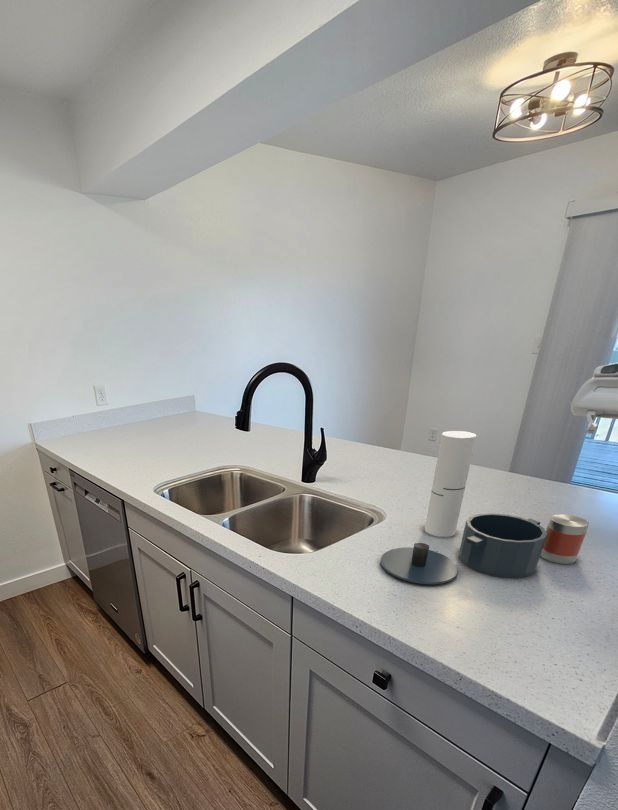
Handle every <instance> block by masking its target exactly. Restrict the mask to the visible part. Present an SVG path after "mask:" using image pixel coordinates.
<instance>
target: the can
mask: <svg viewBox="0 0 618 810" xmlns="http://www.w3.org/2000/svg"><path fill="white" fill-rule="evenodd" d="M589 526H590V522H589V521H588V520H586V519H584V518H583V517H579V516H576V515H572V514H563V513H562V514H561V513H560V514H553V515H551V516H550V518H549V521H548V524H547V526H546V529H545V531H546V532H547V537H546V540H545V543H544V546H543V549H542V552H541V555H540V558H541V559H544V560H546V561H547V562H551V563H554V564H559V565H572V564H574V563H576V561H577V557H578V556H579V553H580V550H581V547H582V545H583V543H584V539H585V538H586V534H587V531H588V528H589Z"/></svg>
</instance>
